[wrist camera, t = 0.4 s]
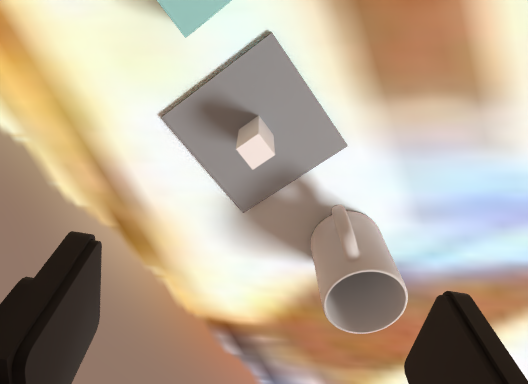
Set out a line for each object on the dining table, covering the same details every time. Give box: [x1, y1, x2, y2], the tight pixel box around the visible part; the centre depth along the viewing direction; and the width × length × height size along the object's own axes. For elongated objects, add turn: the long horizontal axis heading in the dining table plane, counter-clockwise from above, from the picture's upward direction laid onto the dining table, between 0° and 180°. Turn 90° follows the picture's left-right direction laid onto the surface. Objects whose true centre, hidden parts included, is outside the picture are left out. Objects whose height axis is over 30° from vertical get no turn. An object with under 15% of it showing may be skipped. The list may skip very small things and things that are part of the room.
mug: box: [311, 205, 408, 334], centre depth 45 cm, size 12×8×11 cm
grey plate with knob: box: [161, 33, 347, 213], centre depth 41 cm, size 14×14×6 cm
